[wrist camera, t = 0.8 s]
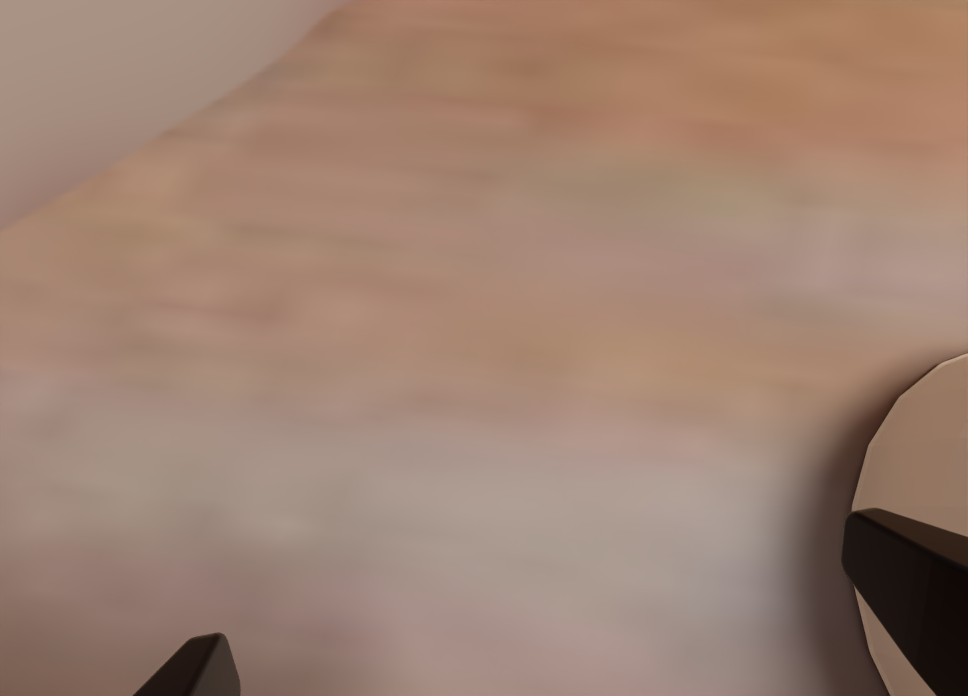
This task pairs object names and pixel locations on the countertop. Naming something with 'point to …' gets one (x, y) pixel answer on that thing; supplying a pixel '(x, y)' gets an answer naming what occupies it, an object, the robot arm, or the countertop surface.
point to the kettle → (917, 486)
